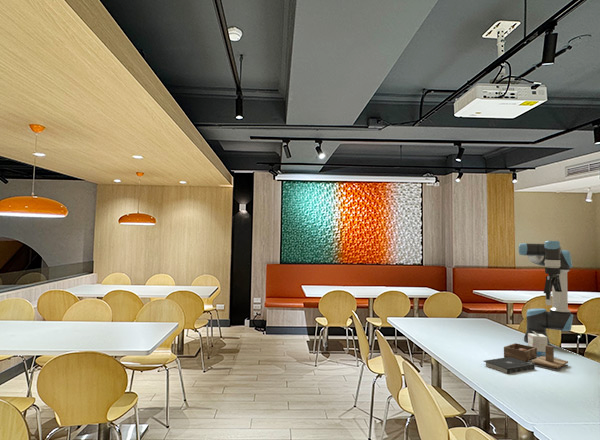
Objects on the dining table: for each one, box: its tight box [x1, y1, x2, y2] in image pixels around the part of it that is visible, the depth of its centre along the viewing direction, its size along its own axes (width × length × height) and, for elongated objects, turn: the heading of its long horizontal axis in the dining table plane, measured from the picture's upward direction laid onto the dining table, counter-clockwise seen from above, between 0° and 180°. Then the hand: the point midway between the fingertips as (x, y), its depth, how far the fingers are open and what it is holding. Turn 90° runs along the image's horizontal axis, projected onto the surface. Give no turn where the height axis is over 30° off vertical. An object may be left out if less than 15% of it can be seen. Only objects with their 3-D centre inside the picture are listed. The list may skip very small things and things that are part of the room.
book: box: [483, 357, 536, 375], centre depth 207 cm, size 22×15×3 cm
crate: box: [503, 342, 538, 363], centre depth 226 cm, size 16×12×6 cm
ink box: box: [527, 331, 549, 357], centre depth 235 cm, size 9×8×13 cm
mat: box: [531, 362, 569, 372], centre depth 212 cm, size 16×13×1 cm
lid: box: [530, 345, 569, 368], centre depth 213 cm, size 17×13×10 cm
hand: (553, 304), depth 221 cm, fingers open, 13 cm apart
